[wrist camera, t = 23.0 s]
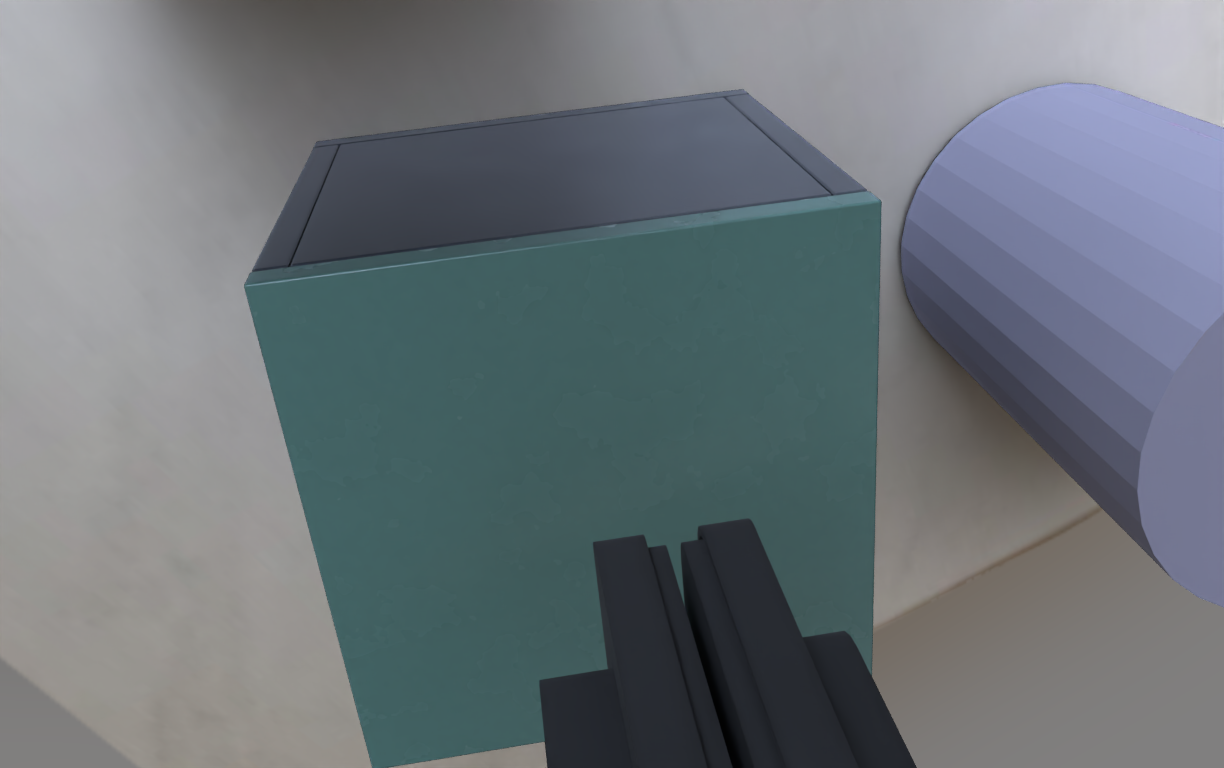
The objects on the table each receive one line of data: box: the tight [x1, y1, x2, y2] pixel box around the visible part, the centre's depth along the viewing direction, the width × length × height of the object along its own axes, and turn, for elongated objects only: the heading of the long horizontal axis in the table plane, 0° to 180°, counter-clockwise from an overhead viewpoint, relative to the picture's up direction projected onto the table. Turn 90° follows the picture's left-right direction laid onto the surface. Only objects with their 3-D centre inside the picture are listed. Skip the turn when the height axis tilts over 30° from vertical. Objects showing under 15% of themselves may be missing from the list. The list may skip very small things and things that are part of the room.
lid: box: [244, 191, 881, 768], centre depth 26 cm, size 14×14×1 cm
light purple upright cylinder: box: [901, 83, 1224, 607], centre depth 31 cm, size 10×10×15 cm
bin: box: [252, 89, 867, 272], centre depth 32 cm, size 13×14×12 cm
